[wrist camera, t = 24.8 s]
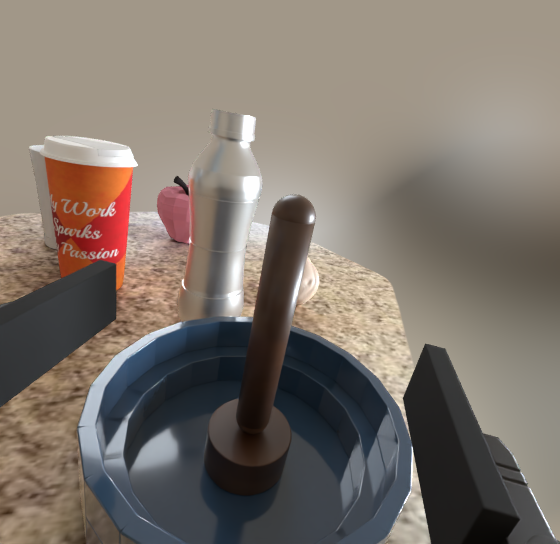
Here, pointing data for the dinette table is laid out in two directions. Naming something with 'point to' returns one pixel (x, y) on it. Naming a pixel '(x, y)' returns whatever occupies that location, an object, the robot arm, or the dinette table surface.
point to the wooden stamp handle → (263, 364)
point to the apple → (175, 210)
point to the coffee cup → (89, 200)
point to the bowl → (192, 438)
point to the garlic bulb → (308, 283)
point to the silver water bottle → (220, 219)
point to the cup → (43, 194)
